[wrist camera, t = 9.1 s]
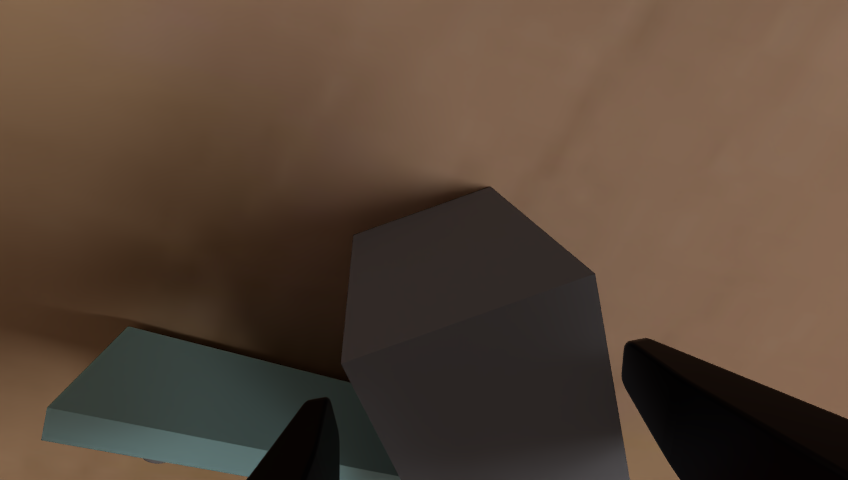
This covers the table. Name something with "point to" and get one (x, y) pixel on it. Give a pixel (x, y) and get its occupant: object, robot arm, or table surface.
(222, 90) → the table surface
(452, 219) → the gray rectangular block
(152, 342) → the door
